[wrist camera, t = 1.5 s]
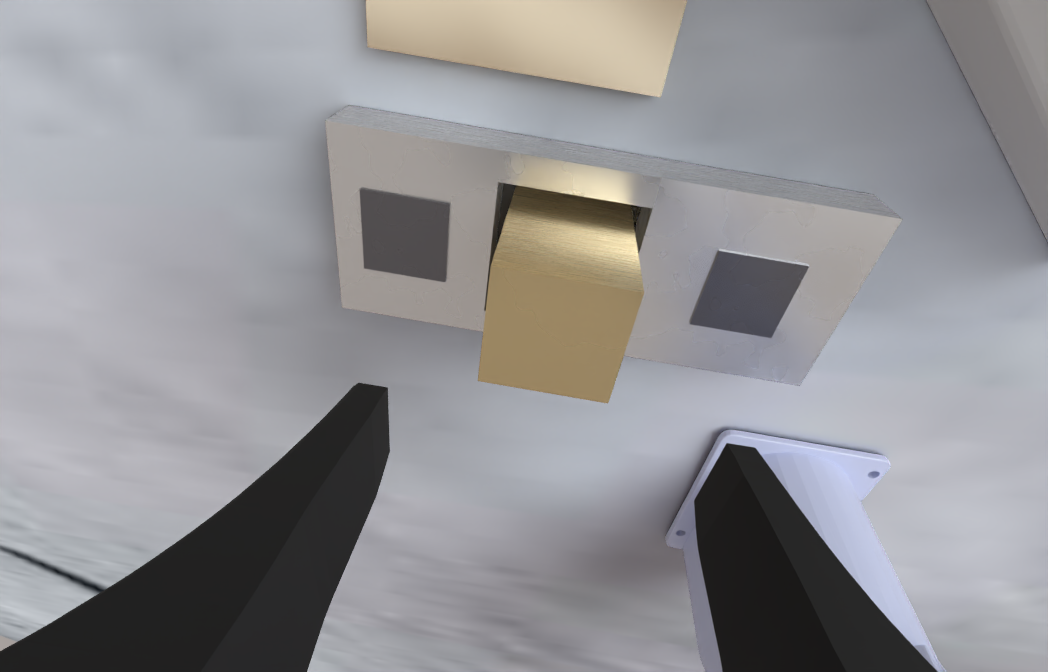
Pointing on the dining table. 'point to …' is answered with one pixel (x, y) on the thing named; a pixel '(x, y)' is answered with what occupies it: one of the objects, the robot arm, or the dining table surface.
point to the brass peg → (561, 295)
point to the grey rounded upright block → (1007, 80)
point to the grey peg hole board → (661, 234)
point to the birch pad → (538, 37)
